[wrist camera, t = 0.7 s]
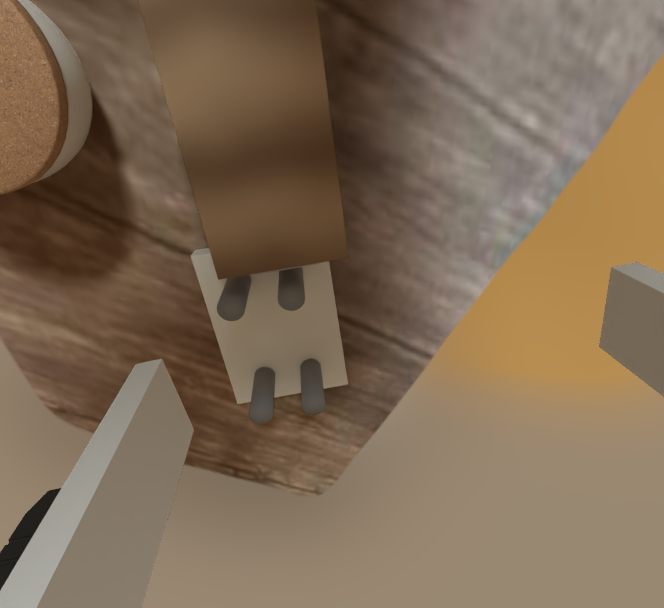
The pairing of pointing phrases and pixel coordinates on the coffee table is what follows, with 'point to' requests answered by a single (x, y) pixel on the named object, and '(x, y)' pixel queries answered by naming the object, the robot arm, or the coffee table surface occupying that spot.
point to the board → (252, 128)
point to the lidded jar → (38, 97)
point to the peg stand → (275, 334)
